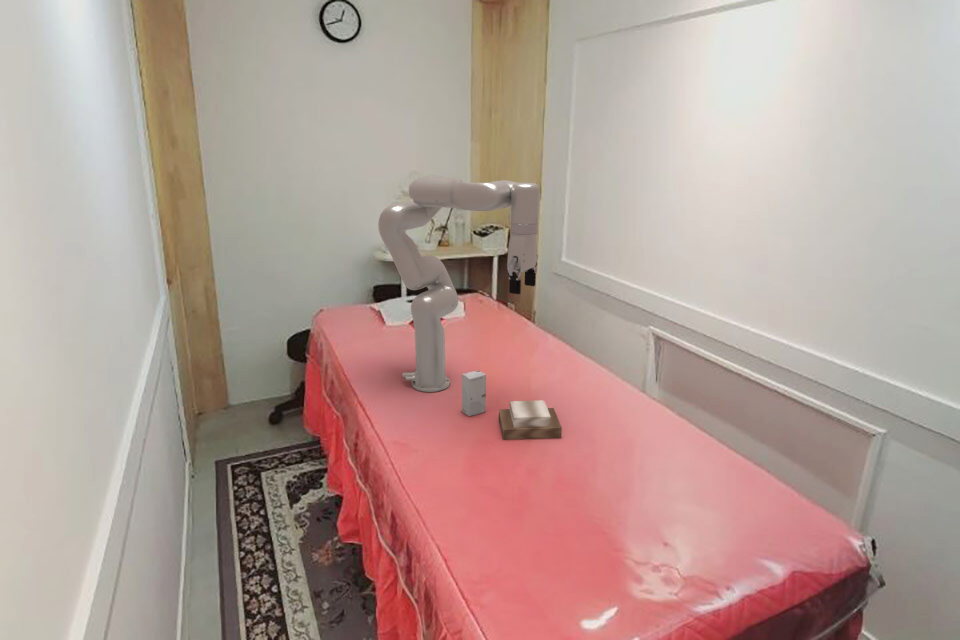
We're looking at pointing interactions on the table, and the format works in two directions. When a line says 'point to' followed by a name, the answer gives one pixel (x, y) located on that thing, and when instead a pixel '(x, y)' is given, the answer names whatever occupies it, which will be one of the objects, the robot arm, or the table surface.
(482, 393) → the skincare box
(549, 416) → the block stack
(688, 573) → the table surface
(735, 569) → the table surface
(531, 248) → the robot arm
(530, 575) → the table surface
